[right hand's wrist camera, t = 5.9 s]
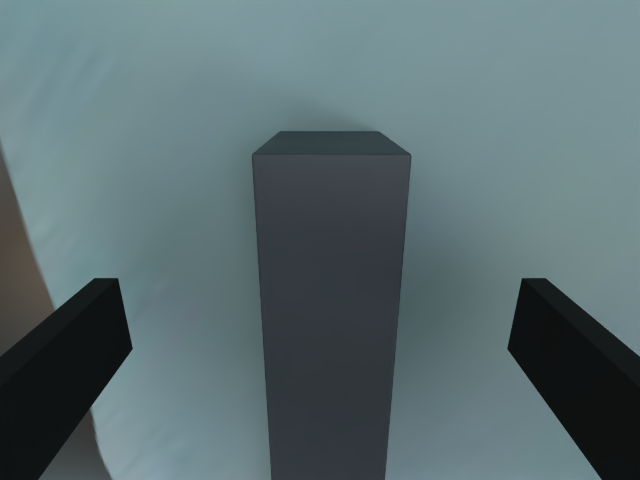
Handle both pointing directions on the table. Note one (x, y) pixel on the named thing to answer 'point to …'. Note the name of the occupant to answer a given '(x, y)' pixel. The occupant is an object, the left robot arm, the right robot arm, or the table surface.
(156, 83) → the table surface
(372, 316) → the beam
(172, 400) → the table surface
